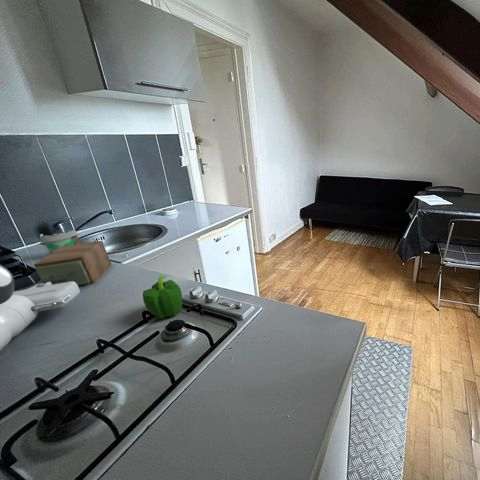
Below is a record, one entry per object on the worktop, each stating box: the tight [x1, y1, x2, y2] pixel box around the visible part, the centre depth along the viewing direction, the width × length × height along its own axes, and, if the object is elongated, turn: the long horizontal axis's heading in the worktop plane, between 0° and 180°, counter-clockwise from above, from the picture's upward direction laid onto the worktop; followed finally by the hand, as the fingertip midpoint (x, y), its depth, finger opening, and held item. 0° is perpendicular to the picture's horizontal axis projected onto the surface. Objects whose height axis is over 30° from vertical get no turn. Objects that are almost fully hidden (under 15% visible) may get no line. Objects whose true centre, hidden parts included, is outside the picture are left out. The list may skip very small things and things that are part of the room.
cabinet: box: [33, 240, 112, 287], centre depth 88 cm, size 15×12×10 cm
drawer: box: [35, 260, 90, 285], centre depth 84 cm, size 18×11×8 cm, turn 18°
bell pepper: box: [142, 274, 183, 320], centre depth 66 cm, size 8×8×10 cm
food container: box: [39, 229, 80, 254], centre depth 105 cm, size 12×6×10 cm, turn 105°
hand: (45, 284), depth 73 cm, fingers closed
